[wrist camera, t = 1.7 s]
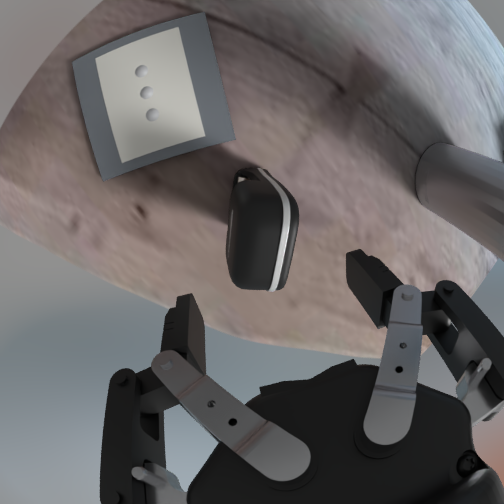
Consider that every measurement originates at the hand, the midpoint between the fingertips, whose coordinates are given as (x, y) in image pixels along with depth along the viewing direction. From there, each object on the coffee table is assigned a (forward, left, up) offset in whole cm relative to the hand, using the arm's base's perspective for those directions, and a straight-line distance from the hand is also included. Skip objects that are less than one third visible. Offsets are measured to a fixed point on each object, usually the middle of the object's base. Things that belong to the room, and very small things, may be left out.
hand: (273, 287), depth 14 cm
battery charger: (0, 0, -15) cm, 15 cm away
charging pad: (+6, -12, -15) cm, 20 cm away
